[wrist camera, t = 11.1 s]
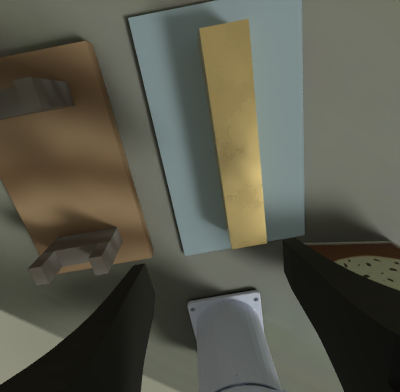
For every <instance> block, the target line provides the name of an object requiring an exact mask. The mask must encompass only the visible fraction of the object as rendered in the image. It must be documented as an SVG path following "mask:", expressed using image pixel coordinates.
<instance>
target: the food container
mask: <svg viewBox="0 0 400 392" xmlns="http://www.w3.org/2000/svg"><path fill="white" fill-rule="evenodd" d="M304 244H305V245H307V246H308V247H310V248H312V249H313V250H315V251H316V252H318V253H320V254H321V255H323V256H325V257H326V258H328V259H330V260H332V261H334V262H335V263H337V264H339V265H341V266H343V267H345V268H347V269H349V270H351V271H353V272H355V273H357V274H359V275H362V276H364V277H366V278H368V279H371V280H373V281H375V282H378V283H380V284H383V285H386V286H389V287H391V288H394V289H397V290H400V246H398V245H397V244H395V243H394V242H392V241H363V242H317V243H304Z"/></svg>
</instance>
